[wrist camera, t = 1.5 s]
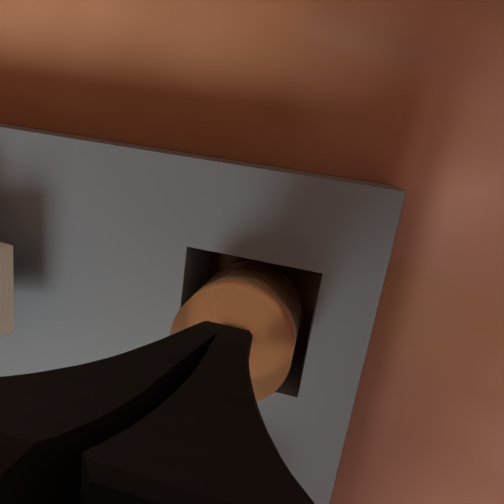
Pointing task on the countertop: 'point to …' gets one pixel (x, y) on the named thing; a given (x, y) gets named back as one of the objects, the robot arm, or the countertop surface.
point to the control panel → (190, 265)
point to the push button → (251, 317)
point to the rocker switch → (6, 289)
